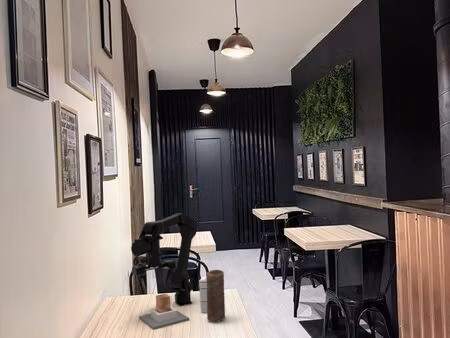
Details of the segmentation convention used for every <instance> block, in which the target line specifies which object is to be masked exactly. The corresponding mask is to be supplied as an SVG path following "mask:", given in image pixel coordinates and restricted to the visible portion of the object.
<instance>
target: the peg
mask: <svg viewBox="0 0 450 338" xmlns="http://www.w3.org/2000/svg"><path fill="white" fill-rule="evenodd" d="M155 305H156V307H155V308H157V312H158V313H164V312H168V311H171V307H172V306H171V296H170V295H169V294H168V293H162V294H156V295H155Z"/></svg>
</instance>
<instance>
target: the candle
mask: <svg viewBox="0 0 450 338" xmlns="http://www.w3.org/2000/svg"><path fill="white" fill-rule="evenodd" d="M206 277H207V313H206V315H207V316H206V317H207V319H206V320H208V321H209V322H210V321H211V322H217V323H218V322H221V321H222V320H223V319H225V318H226V307H225V306H226V305H225V301H226V299H225V273H224V271H223V270H220V269H211V270H209V271H207V273H206Z"/></svg>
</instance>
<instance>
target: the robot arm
mask: <svg viewBox="0 0 450 338" xmlns="http://www.w3.org/2000/svg"><path fill="white" fill-rule="evenodd" d="M175 225H176V226H177V227H178V228H179V234H180V237H181V239H180V247H179V252H178V258H177V263H176V261H175V260H173V259H166V260H163V261H162V260H161V256H163V255H162V253H161V243H160V240H163V238H164V237H162V235H161V234H163V233H164V231H165V230H167V229H168V228H170V227H173V226H175ZM198 228H199V226H198V223H197V221H196V220H194V219H193V218H191V217H189V216H188V215H186V214H184V213H181V212H180V213H179V212H178V213H173V215H170V216H168V217H164V218H162V219H159V220H154V221H147V222H144V224H143V227H142V230H141V232H140V234H139V236H138V238H135V239H134V240H133V241H134V242H133V243H132V244H131V247H130V248H131V249H130V251H131V253H132V254H133V256H136V257H138V258H137V261H138V262H137V263H138V264H139V265H135V266H132V268H131V274H133V275H135V276H136V277H138V278H139V279H140V281H141V283H142V287H143V288H144V290H147V287H148V286H147V285H148V284H147V274H146V272H147V271H154V270H157V269H158V270H159V269H162V271H163V285H164V286H166V285H167V283H168V280H169V281H170V282H169V283H170V286H171V289H172V291H175V294H174V304H175V305H178V306H180V307H182V306H186V305H192V304H193V301H192V300H191V299H192V298H191V292H192V291H193V289H194V284H193V283H192V282H191V281H190V274H189V272H188V266H189V259H190V253H191V247H192V241H193V239H194V238H195V236H196V235H197V231H198ZM144 255H145V256H144ZM161 261H162V262H161Z"/></svg>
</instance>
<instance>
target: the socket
mask: <svg viewBox="0 0 450 338" xmlns="http://www.w3.org/2000/svg"><path fill="white" fill-rule="evenodd" d="M149 311H150V313H147V314H146V313H145V314H143V315H139V316H138V318H139V320H140V321H142V322H143V323H144V324H146V326H148V327H149V328H151V330H158V329H162V328H165V327H169V326H173V325H177V324H182V323H185V322H188V321H190V317H188V316H187V315H185V314H184V313H182V312H180V311H179V310H177V309H176V308H173V307H172V306H171V311H168V312H164V313H158V312H157V308H156V307H155V308H151V309H150V310H149Z"/></svg>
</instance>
